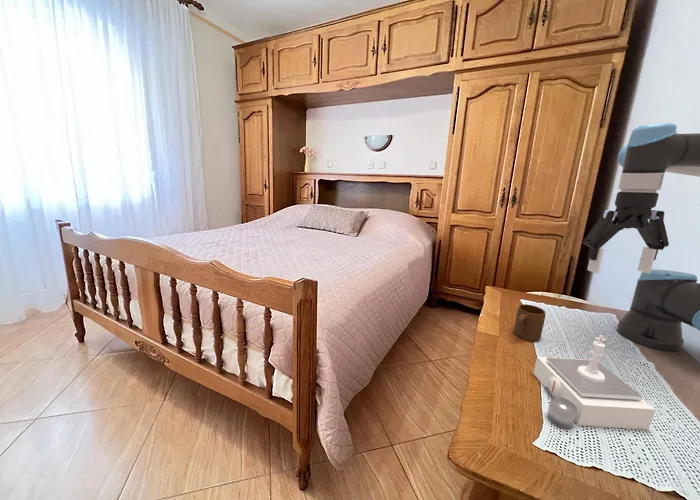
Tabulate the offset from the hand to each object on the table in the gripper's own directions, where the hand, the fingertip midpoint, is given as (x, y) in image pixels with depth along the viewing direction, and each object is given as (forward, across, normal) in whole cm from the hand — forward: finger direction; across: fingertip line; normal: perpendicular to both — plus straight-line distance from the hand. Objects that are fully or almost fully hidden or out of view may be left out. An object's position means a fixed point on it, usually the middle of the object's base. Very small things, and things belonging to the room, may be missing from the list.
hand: (618, 271), depth 77 cm
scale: (+25, +17, +17) cm, 35 cm away
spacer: (+25, +28, +24) cm, 44 cm away
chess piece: (+19, +17, +17) cm, 31 cm away
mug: (+26, +16, -9) cm, 32 cm away
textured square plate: (+20, +17, +17) cm, 31 cm away
